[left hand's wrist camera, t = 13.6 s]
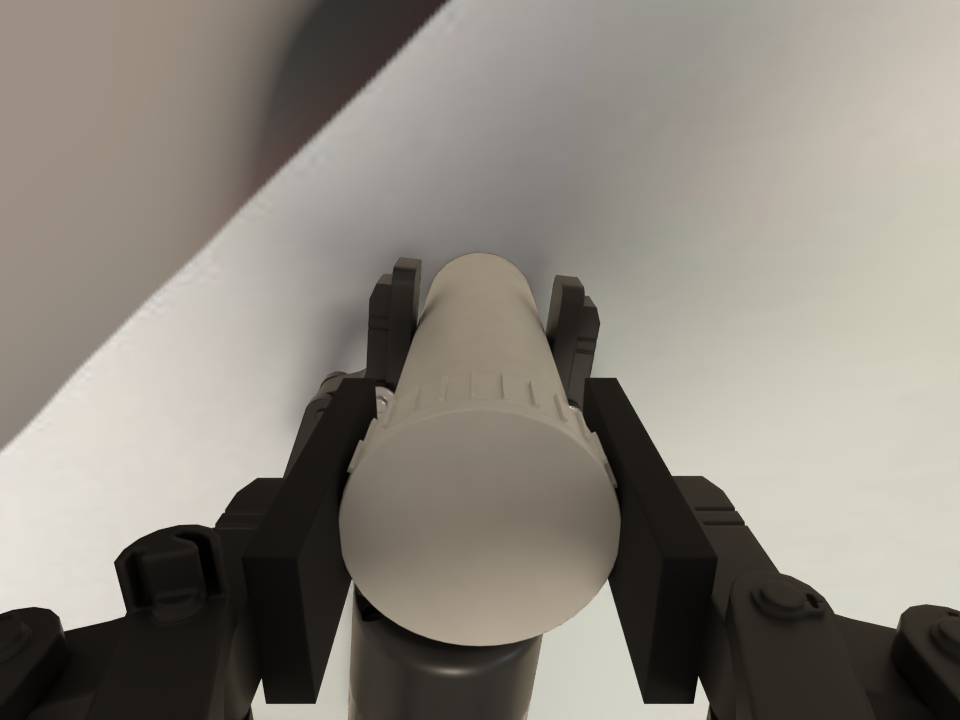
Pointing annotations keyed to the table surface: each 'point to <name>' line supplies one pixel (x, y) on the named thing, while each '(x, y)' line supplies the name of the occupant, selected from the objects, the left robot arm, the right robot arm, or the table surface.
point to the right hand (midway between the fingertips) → (488, 274)
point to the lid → (479, 511)
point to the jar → (480, 328)
